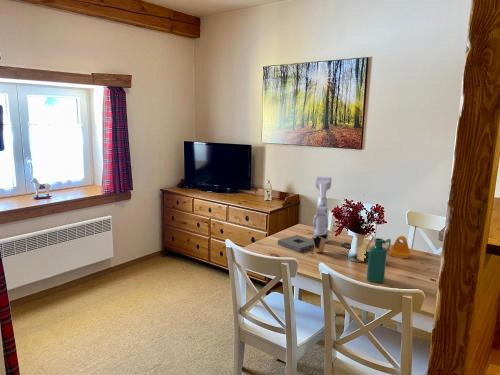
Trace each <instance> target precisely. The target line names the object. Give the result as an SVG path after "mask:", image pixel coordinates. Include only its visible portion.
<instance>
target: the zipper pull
mask: <svg viewBox="0 0 500 375" xmlns="http://www.w3.org/2000/svg"><path fill="white" fill-rule="evenodd" d="M340 248H343V249H346V250H349V251H351V250H350V249H351V243H350V242H347V241H345V242H343V243H341V244H340ZM365 251H366V253H365V254H364V255H365V256H366V258H364V262H363V263H366V264H368V257H369V250H368V251H367V250H365Z"/></svg>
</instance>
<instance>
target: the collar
mask: <svg viewBox="0 0 500 375" xmlns="http://www.w3.org/2000/svg"><path fill="white" fill-rule="evenodd" d="M277 245H278V246H281V247H283V248H285V249H288V250H291V251H294V252H295V253H304V252H307V251H310V250H314V240H313V239H311V238H309V237H305V236H302V235H299V234H296V235H292V236H287V237H283V238H281V239H277Z"/></svg>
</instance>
